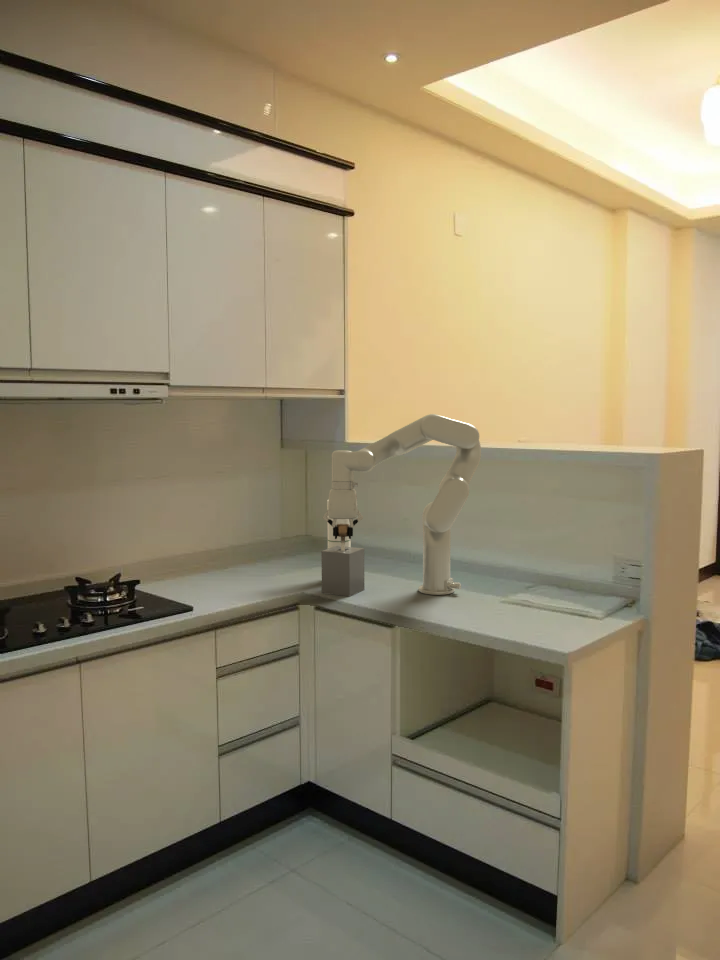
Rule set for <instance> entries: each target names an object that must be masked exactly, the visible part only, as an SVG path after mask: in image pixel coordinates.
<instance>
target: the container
mask: <svg viewBox="0 0 720 960" xmlns="http://www.w3.org/2000/svg"><path fill="white" fill-rule="evenodd" d="M326 501H327V503H326V506H327V508H326V509H327V510H328V502H329V499H327V500H326ZM327 510H326V511H327ZM328 518H329V516H328ZM329 519H331V520H332V521H333V519H332V518H329ZM326 522H327V521H326ZM326 524H327V529H326V530H327V549H329V548H332V547H335V546H341V537H338V536H337V539H335V536H333V527H332V526H331V525H330V524H329V523H328V522H327V523H326ZM337 524H349V525H350V523H349V519H337V521H336V525H337ZM351 539H352V538H351ZM351 539H349V536H347V537H345V547H352V545H351Z"/></svg>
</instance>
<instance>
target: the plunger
mask: <svg viewBox="0 0 720 960" xmlns="http://www.w3.org/2000/svg"><path fill="white" fill-rule="evenodd" d="M337 536H338V537H341V551H345V537H347V536H349V524H337Z"/></svg>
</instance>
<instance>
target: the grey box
mask: <svg viewBox="0 0 720 960" xmlns="http://www.w3.org/2000/svg"><path fill="white" fill-rule="evenodd" d="M320 552H321V553H320V554H321V594H327V595H335V596H342V597H343V596H344V597H349V598H350V597H351V596H354V595H356V594H358V593H360V592H362V591H364V590H365V548H364V547H354V546H351V547H345V551H341V546H335V547H332V548H329V549H328V548H326V549H323V550H321V551H320Z"/></svg>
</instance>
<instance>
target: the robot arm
mask: <svg viewBox="0 0 720 960" xmlns="http://www.w3.org/2000/svg"><path fill="white" fill-rule="evenodd" d="M431 441H434V442H439V443H442V444H445V445H449V446H453V447H455V448H456V452H455V456H454V458H453V460H452V462H451V464H450V465H449V468H448V470H447V471H446V472H445V475H444V476H443V478H442V479H441V481H440V483H439V485H438V493H437V495H436V496H435V498H434V500H433V501H431V502H428V503H427V504H426V505H425V507H424V508H423V512H422V585H419V586H418V591H419V593H421V594H425V595H433V596H434V595H435V596H442V595H444V596H445V595H449V594H450V595H451V594H452V593H455V590H461V589H462V583H461V582H458V581H456V582H455V581H454V577H451V541H452V540H451V539H452V537H451V535H452V534H451V528H452V527H453V525H454V523H456V522H455V521H456V520H457V518H458V516H459V514H460V513H461V511H462V509H463V507H464V506H465V504H466V502H467V500H468V498H469V494H470V486H469V484H470V482H471V480H472V478H473V476H474V474H475V472H476V471H477V469H478V466H479V464H480V461H481V458H482V447H481V442H480V432H479V430H478V429H477V427H476V426H474V425H473V424H470V423H467V422H463V421H460V420H456V419H451V418H449V417H445V416H442V415H439V414H436V413H430V414H429V413H428V414H427V415H425V416H422V417H421V418H419V419H417V420H414V421H413V422H411V423H409V424H407V425H404V426H402V427H401V428H399V429H397V430H395V431H393V432H391V433H390V434H388V435H387V436H385V437H382V438H381V439H379V440H376V441H375V442H373V443H371V444H369V445H367V446H365V447H363V448H361V449H359V450H357V451H352V450H347V449H345V450H344V449H343V450H342V449H340V450H338V449H337V450H334V451H333V452H331V489H329V493H328V500H329V502H328V510H326V512H325V513H324V515H323V516H322V520H324V521H325V522H328V523H329V524H330V525H331V526H332V527H333V536H335V539H337V525H336V521H337V519H349V523H350V525H349V539H352V537H354V527H355V526H356V525H357V523H359V522H360V521H362V520H363V519H364V516H363V515H362V513H361V511H360V510H359V509H358V507H359V506H358V496H357V491H356V489H355V488H356V487H358V486H359V485H358V482H355V481H354V479H355V478H354V472H360V473H368V472H371V471H372V470H373V469H374V468H375V466H377V465H379V464H382V463H383V462H385V461H387V460H390V459H392V458H395V457H398V456H402V455H405V454H408V453H409V452H412V451H413V450H415V449H418V448H419V447H421V446H424V445H426V444H428V443H430V442H431ZM328 516H329V518H332V519H333V521H332V520H331V519H329V518H328ZM353 519H354V520H353Z"/></svg>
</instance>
